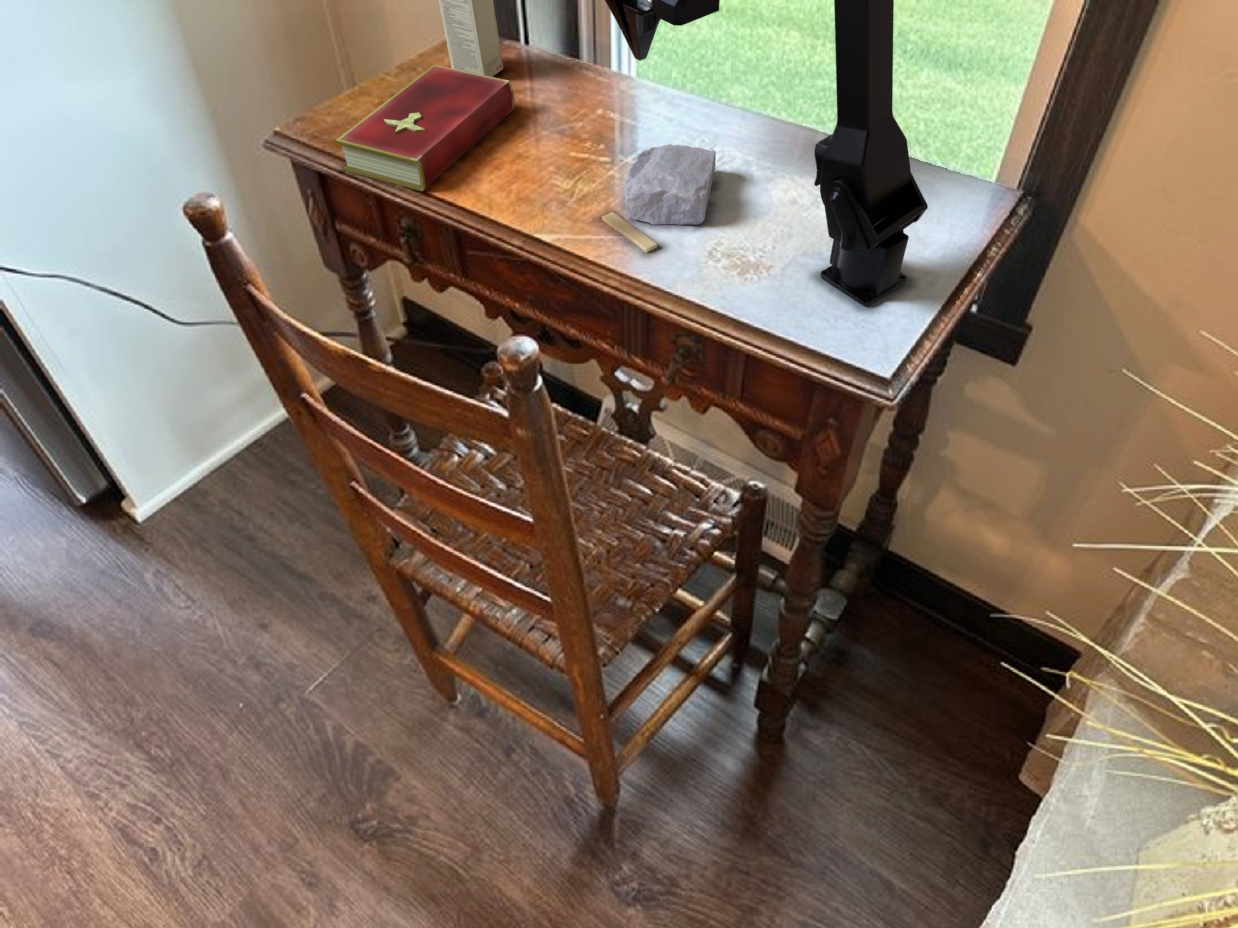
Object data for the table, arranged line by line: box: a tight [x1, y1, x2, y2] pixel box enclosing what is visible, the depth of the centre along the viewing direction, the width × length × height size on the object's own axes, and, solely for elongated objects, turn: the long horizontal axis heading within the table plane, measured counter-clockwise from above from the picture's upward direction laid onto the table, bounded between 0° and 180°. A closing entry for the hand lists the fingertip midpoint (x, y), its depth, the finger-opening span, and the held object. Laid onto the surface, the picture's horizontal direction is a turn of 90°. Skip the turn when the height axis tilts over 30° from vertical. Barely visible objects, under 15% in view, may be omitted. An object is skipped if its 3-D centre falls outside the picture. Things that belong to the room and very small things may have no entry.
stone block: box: [623, 144, 717, 226], centre depth 104 cm, size 12×5×10 cm
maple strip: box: [601, 211, 658, 253], centre depth 101 cm, size 8×2×1 cm, turn 38°
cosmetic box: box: [438, 0, 504, 77], centre depth 123 cm, size 6×4×12 cm
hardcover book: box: [334, 63, 515, 192], centre depth 114 cm, size 12×21×4 cm, turn 154°
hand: (640, 58), depth 101 cm, fingers closed
